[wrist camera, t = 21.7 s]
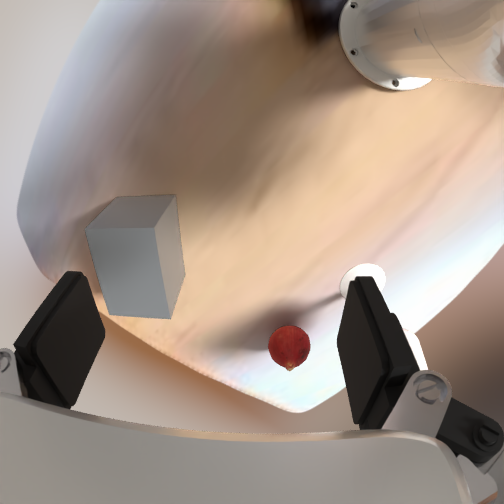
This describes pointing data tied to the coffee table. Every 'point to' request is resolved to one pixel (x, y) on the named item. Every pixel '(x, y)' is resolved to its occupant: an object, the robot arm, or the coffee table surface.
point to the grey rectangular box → (138, 255)
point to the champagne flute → (380, 281)
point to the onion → (289, 346)
